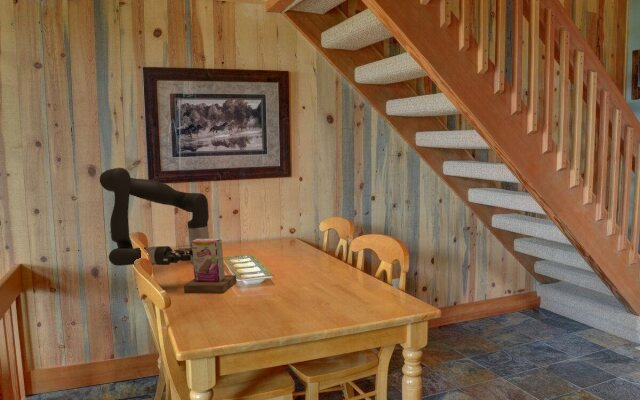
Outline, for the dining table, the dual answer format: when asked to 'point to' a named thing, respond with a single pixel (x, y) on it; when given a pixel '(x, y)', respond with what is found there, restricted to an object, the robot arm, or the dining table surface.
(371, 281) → the dining table surface
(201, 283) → the walnut base
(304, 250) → the dining table surface
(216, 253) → the candy bar box
